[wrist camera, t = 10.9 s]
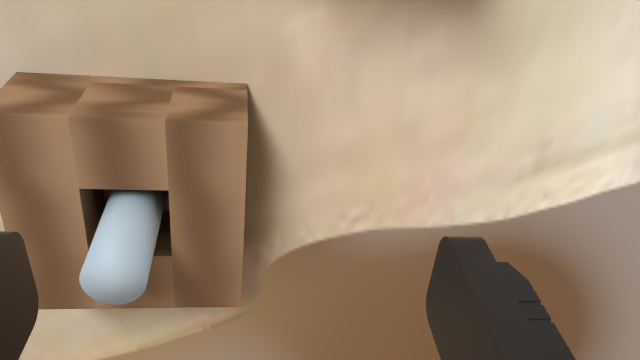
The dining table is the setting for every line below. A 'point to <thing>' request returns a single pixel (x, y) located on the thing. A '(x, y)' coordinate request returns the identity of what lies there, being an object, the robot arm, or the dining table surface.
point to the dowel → (123, 246)
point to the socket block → (126, 180)
